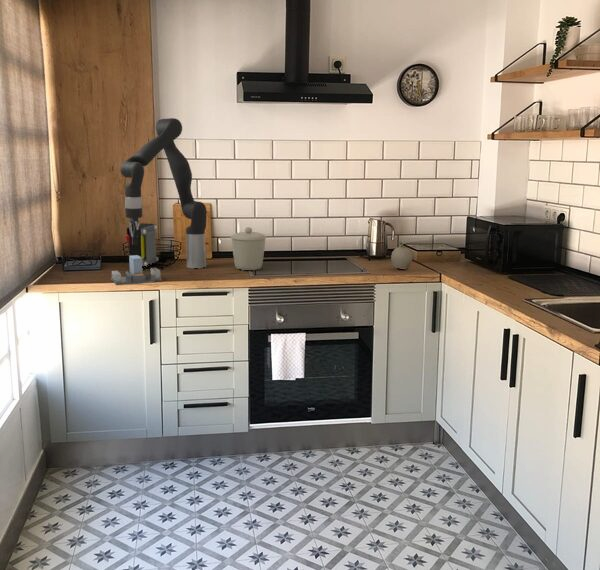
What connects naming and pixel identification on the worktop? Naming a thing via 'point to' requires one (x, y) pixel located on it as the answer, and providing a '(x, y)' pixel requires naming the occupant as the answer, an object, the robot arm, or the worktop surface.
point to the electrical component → (144, 243)
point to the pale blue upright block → (135, 265)
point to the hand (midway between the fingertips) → (134, 244)
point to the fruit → (401, 257)
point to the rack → (135, 277)
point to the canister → (248, 249)
